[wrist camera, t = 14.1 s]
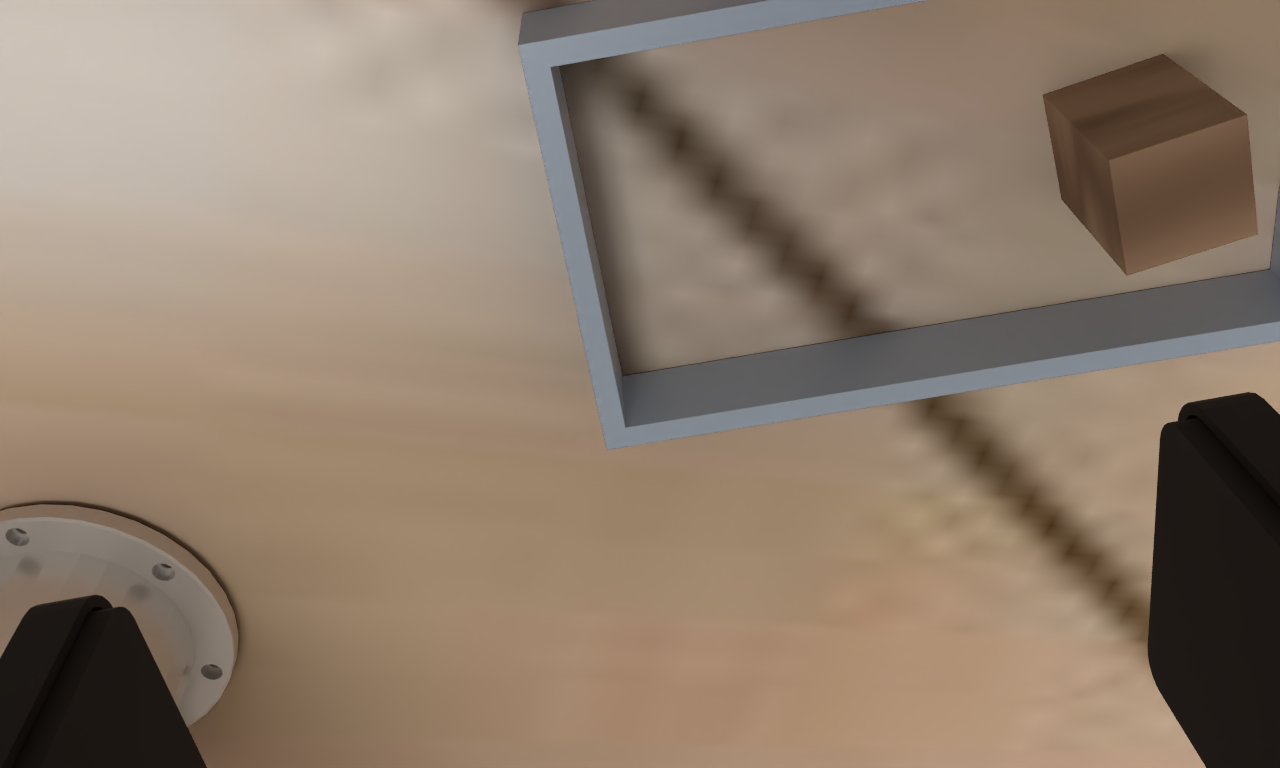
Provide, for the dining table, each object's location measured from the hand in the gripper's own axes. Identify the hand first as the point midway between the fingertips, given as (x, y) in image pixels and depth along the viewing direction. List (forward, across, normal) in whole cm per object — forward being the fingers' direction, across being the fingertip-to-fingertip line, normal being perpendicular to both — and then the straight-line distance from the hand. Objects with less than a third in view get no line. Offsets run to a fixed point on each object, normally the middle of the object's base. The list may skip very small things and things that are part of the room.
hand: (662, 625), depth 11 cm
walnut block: (+31, -17, +8) cm, 36 cm away
